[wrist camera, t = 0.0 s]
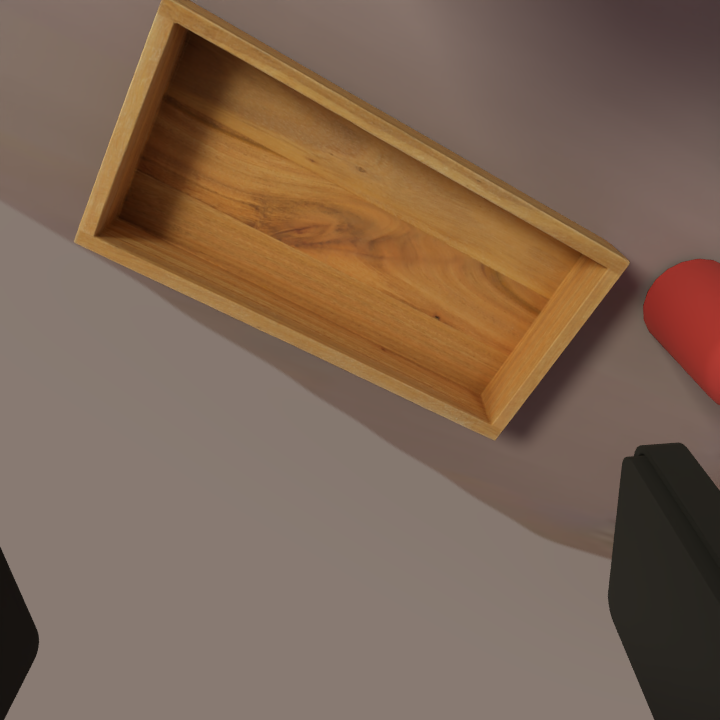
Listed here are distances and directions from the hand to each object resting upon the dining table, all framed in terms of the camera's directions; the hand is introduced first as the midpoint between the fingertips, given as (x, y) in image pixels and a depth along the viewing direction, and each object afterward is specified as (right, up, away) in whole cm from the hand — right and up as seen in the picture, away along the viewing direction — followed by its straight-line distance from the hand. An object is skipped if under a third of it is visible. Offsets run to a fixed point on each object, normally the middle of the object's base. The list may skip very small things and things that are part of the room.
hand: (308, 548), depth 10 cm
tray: (+1, +12, +36) cm, 38 cm away
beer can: (+24, +7, +38) cm, 45 cm away
